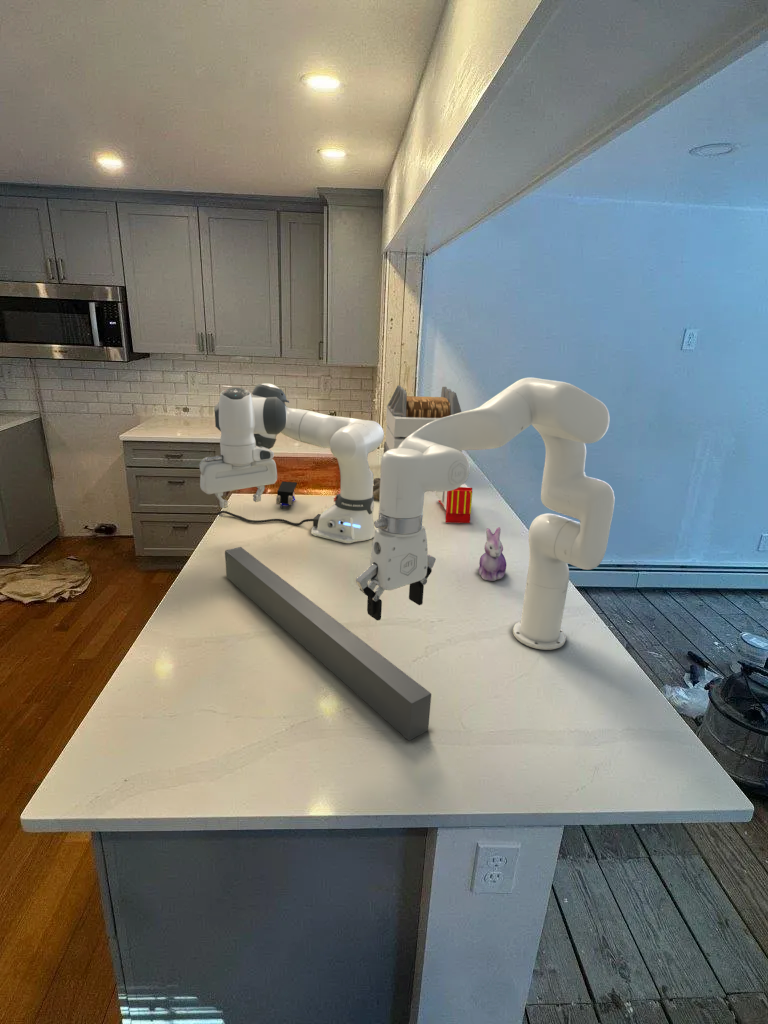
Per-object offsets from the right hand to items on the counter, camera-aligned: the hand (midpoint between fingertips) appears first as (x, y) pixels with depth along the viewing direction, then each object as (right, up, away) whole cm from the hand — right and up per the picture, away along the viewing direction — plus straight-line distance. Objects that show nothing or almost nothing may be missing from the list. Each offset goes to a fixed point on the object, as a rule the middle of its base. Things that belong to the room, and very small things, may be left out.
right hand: (395, 609), depth 103 cm
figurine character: (-40, +21, +121) cm, 129 cm away
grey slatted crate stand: (+15, +36, +172) cm, 176 cm away
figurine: (+31, -2, +69) cm, 75 cm away
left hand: (-40, +20, +47) cm, 65 cm away
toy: (+25, +18, +122) cm, 126 cm away
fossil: (-2, +25, +140) cm, 142 cm away
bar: (-21, -12, +32) cm, 40 cm away
